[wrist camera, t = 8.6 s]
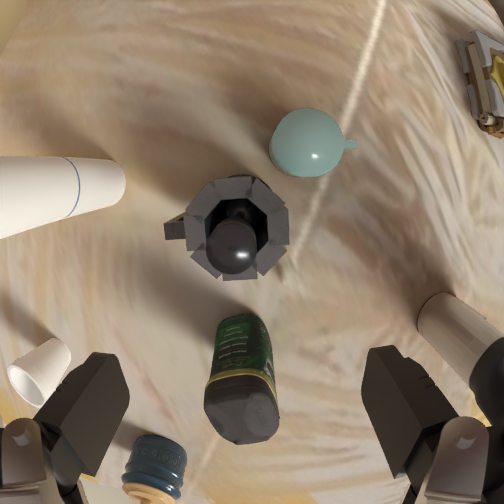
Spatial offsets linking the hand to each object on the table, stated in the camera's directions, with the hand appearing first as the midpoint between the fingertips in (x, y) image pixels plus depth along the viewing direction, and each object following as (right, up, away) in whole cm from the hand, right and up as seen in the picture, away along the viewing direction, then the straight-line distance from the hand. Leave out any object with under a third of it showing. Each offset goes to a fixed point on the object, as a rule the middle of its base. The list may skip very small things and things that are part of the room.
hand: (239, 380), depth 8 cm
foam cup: (-38, -16, +38) cm, 56 cm away
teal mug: (+8, +18, +29) cm, 35 cm away
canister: (-21, -42, +45) cm, 65 cm away
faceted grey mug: (-2, +9, +31) cm, 33 cm away
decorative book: (+51, +38, +25) cm, 68 cm away
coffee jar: (-1, -10, +36) cm, 38 cm away
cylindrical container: (-21, +14, +30) cm, 40 cm away
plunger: (-1, +8, +27) cm, 28 cm away
